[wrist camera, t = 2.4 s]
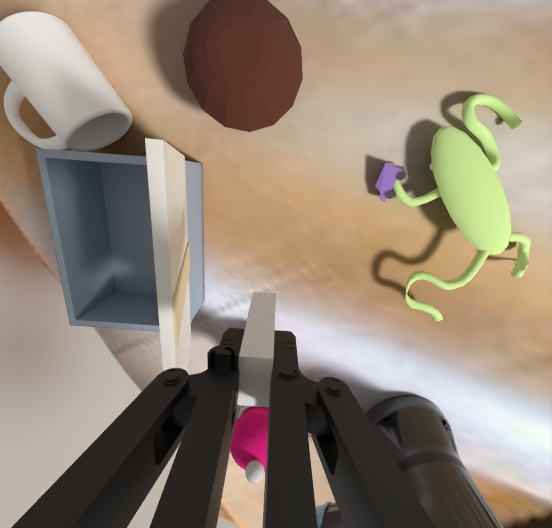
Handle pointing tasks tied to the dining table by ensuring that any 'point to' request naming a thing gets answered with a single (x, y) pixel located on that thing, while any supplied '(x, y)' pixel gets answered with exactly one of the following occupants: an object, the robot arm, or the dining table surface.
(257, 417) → the pepper mill
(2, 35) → the mug
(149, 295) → the box
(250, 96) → the muffin
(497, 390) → the dining table surface
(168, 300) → the lid
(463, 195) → the figurine
